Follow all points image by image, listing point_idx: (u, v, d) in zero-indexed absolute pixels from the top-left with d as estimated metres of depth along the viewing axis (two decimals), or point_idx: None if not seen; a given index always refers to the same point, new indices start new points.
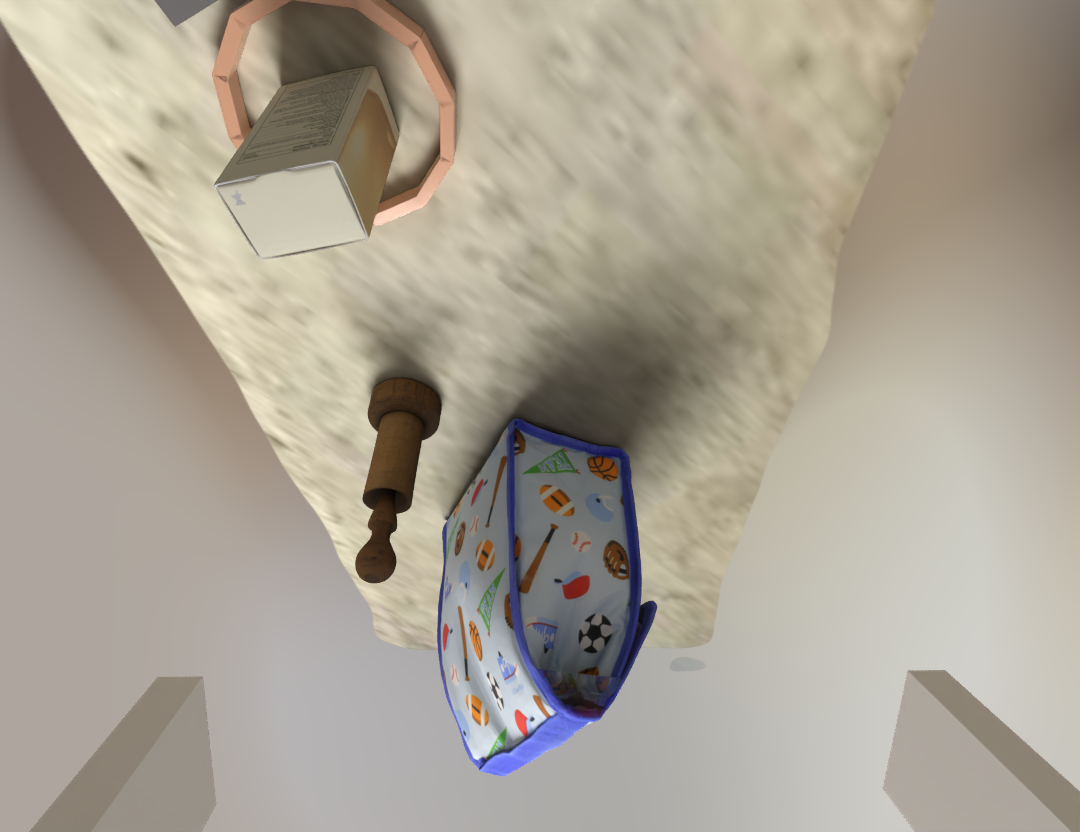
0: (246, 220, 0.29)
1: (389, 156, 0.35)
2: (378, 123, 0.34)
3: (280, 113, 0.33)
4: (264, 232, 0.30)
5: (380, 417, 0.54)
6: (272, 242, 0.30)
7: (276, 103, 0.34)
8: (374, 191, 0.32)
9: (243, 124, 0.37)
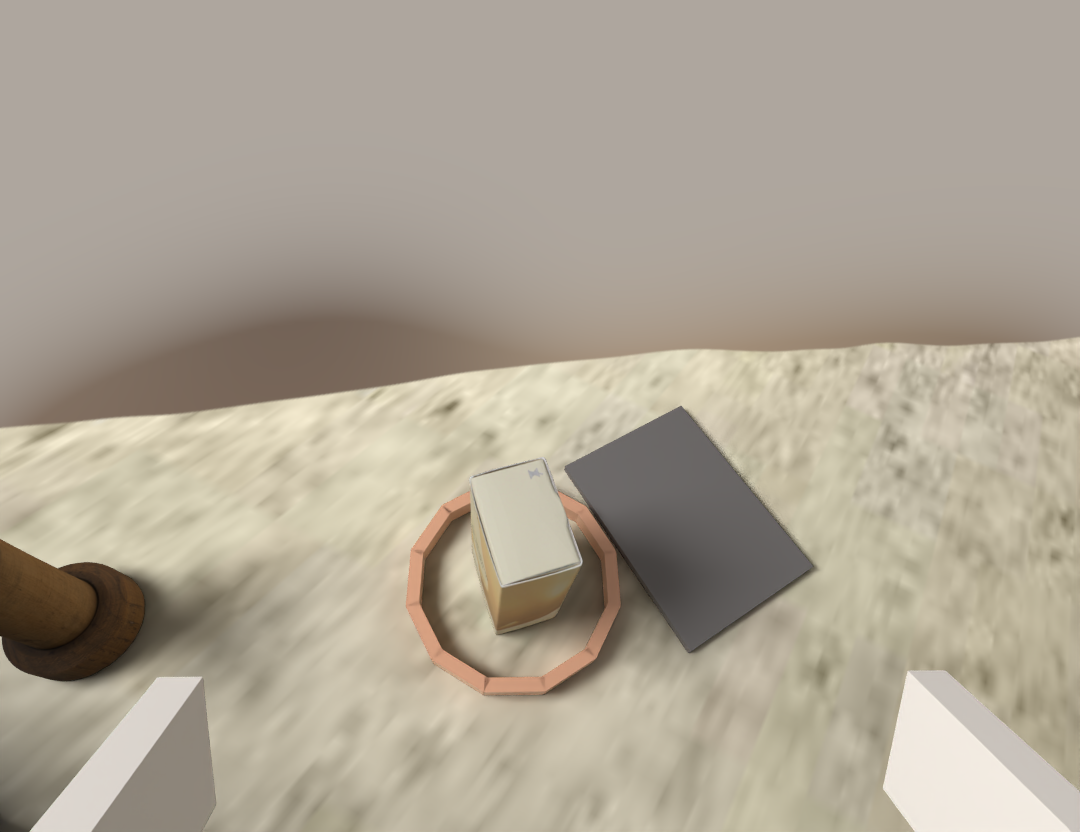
0: (513, 475, 0.31)
1: (503, 621, 0.35)
2: (535, 613, 0.36)
3: None
4: (502, 487, 0.31)
5: (87, 579, 0.36)
6: (491, 492, 0.31)
7: None
8: (514, 600, 0.31)
9: None
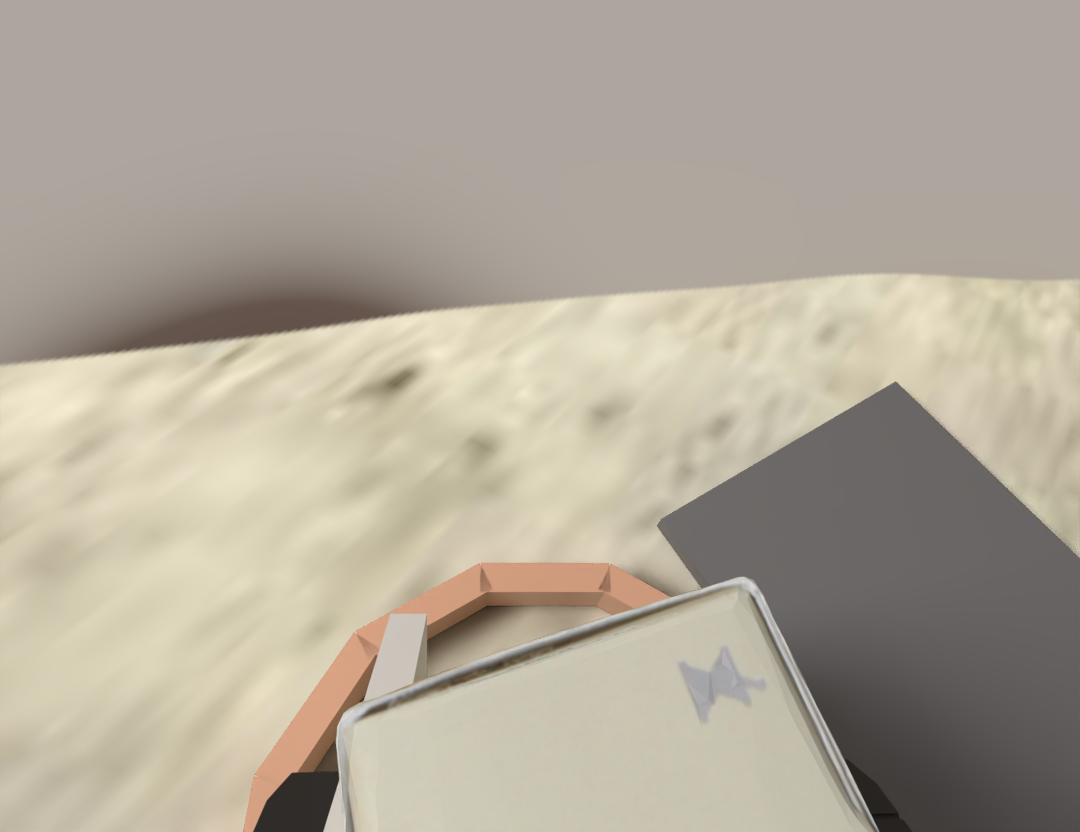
0: (597, 697, 0.05)
1: None
2: None
3: None
4: (537, 796, 0.05)
5: None
6: None
7: None
8: None
9: (503, 598, 0.17)
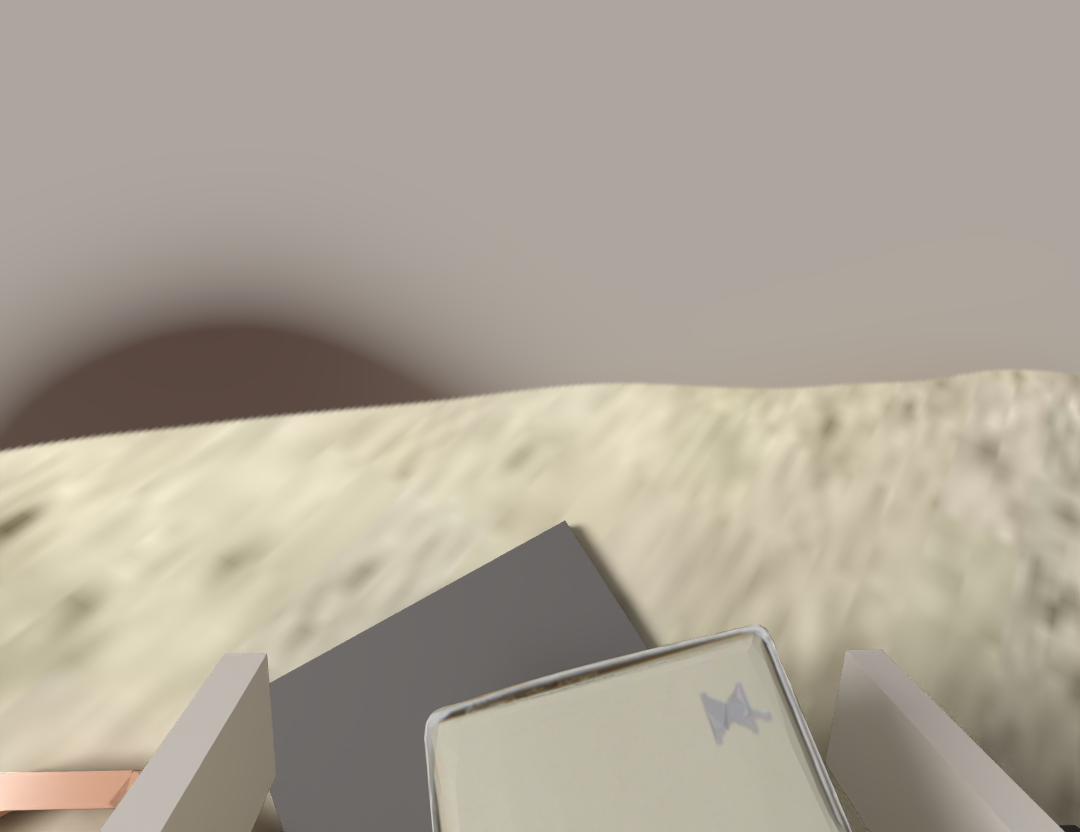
0: (633, 717, 0.07)
1: None
2: None
3: None
4: (582, 792, 0.06)
5: None
6: (528, 820, 0.06)
7: None
8: None
9: None
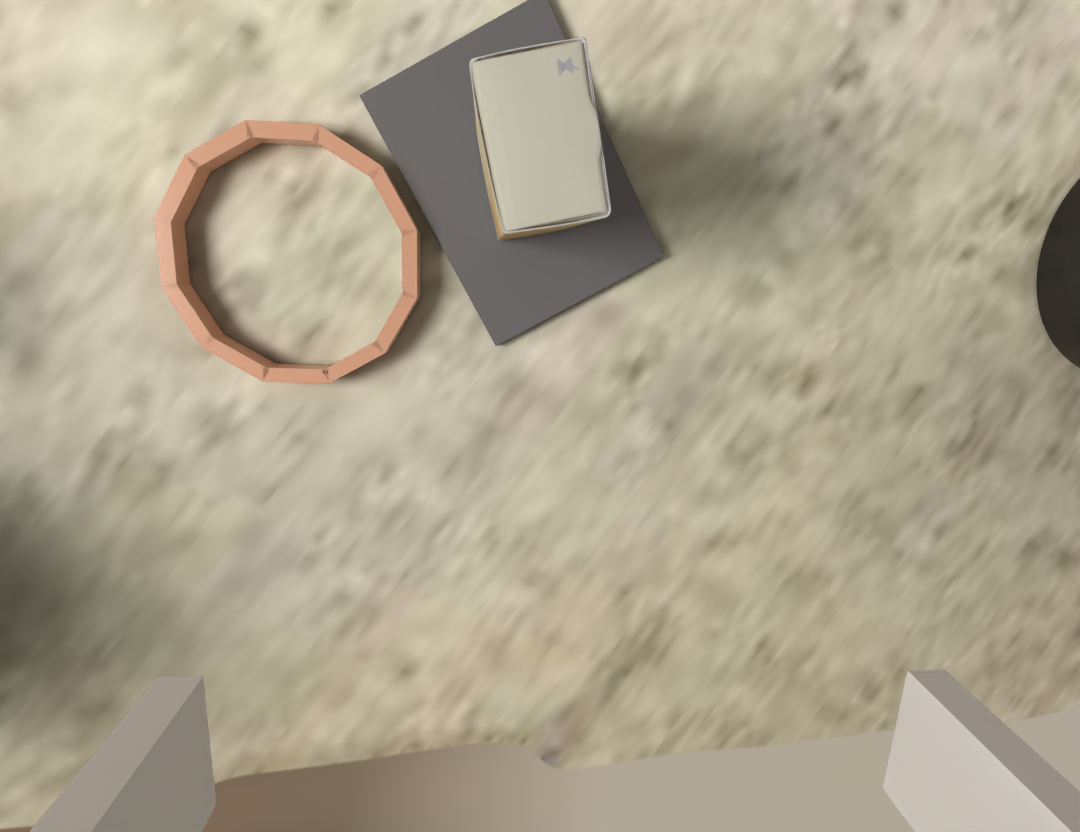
0: (534, 65, 0.21)
1: (507, 238, 0.30)
2: (545, 232, 0.31)
3: None
4: (516, 85, 0.21)
5: None
6: (500, 91, 0.21)
7: None
8: (520, 234, 0.26)
9: (265, 140, 0.32)
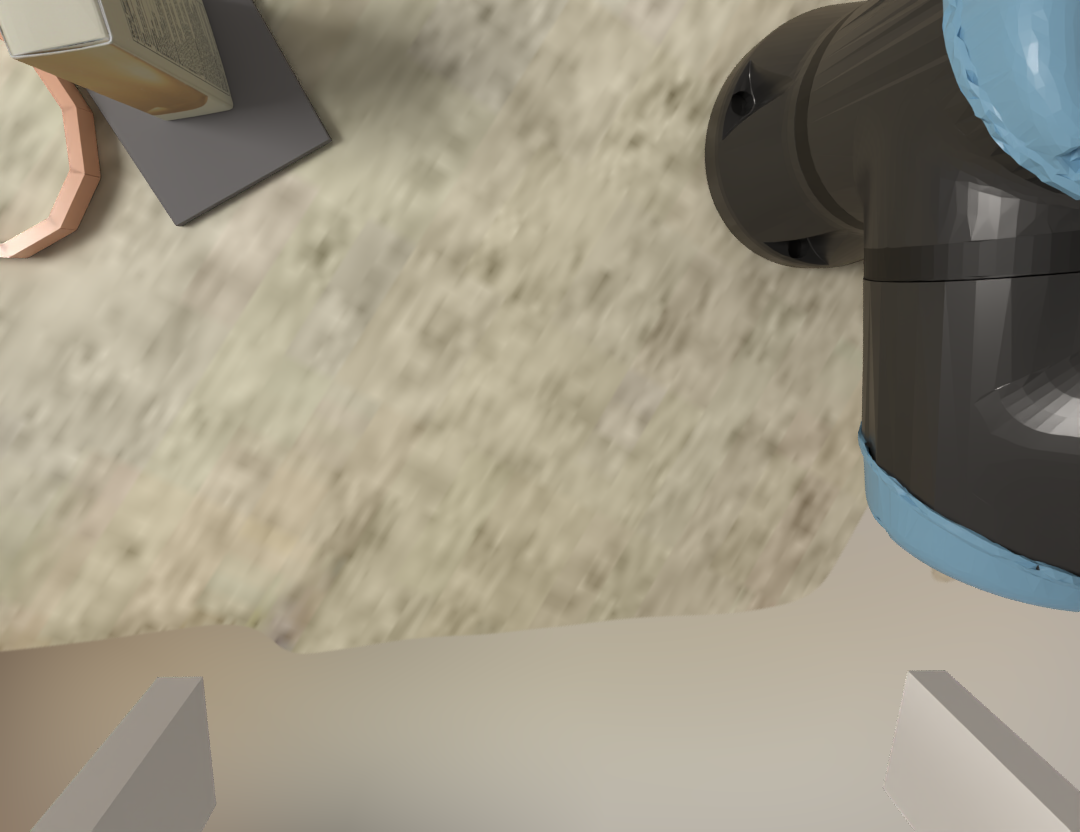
0: None
1: (136, 105, 0.32)
2: (172, 100, 0.32)
3: None
4: None
5: None
6: None
7: None
8: (85, 79, 0.28)
9: None
